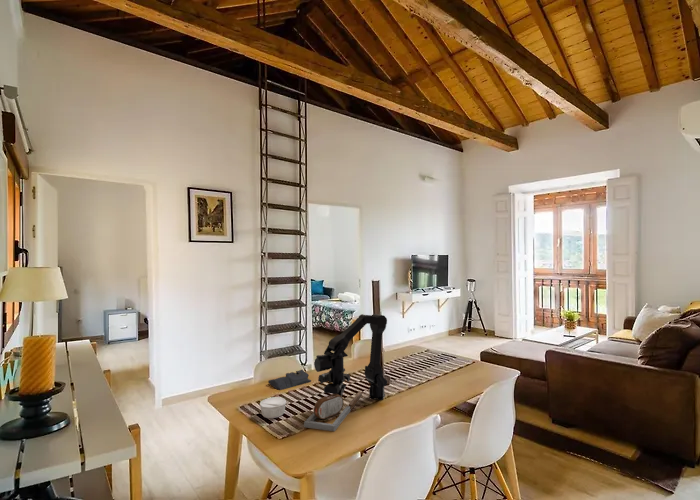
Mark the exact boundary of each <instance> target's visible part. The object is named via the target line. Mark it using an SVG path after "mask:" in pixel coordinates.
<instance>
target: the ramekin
mask: <svg viewBox="0 0 700 500" xmlns="http://www.w3.org/2000/svg"><path fill="white" fill-rule="evenodd" d="M286 405H287V400H286V399H285V398H284V397H280V396H279V397H278V396H277V397H275V396H272V397H268V398H265V399H263V400H261V401H260V403H259V408H260V411H261V415H262V416H263V418H265V419H277V418H279V417H282V416H283V415H284V413H285V410H286Z"/></svg>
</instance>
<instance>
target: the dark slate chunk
mask: <svg viewBox="0 0 700 500" xmlns="http://www.w3.org/2000/svg"><path fill="white" fill-rule="evenodd" d="M311 382H312V380H311V379H309V374H308V373H307V372H306V371H304V370H303V369H300V370H295V372H293V371H292V372H290V373H289V372H287V373H285V376H281V377H278V378H277V377H276V378H274V379H270V380H268V381H267V383H268V385H269V384H270V385H271V386H272V388H275V389H276V390H278V391H282V390H287V389H291V388H294V387H297V386H302V385H305V384H308V383H311Z"/></svg>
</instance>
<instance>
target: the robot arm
mask: <svg viewBox="0 0 700 500" xmlns="http://www.w3.org/2000/svg"><path fill="white" fill-rule="evenodd" d="M367 324H368V325H369V327H370V330H371V342H370V343H371V346H370V356H369V363H368V365H365V366H364V373H363V375H364V377H365V379H366V380H367V383H369V384H370V385H369V387H368V388H369V389H368V390H369V391H368V392H369V393H368V395H369V399H371V400H380V401H382V400H384V398H385V397H386V394H385V387H386V386H387V384H388V380H387V379H385V377H384V376H383V375H384V373H383V369H382V365H381V356H382V355H381V354H382V344H383V343H382V342H383V333H384V332H385V331H386V328H387V324H388V319H387V317H386V315H383V314H378V313H372V314H371V315H370V314H364V313H363V314H360V315H358V318H356V319H354V321H353V322H352V323H351V324H350V325H349V326H348V327H347V328H346V329H345V330H344V331H343V332H341V334H337V335H335V336H334V337H333V338H331V339H329V341H328V345H327V347H326V349H325V350H324V352H323V354H320V355H319V354H318V355H316V357H315V359H314V362H313V365H314V369H315V371H316V372H323V371H325V372H324V373H321V374H319V375H318V378H317V381H318V382H319V383H320V384H324V383H327V382H328V384H326V385H325V386H324V387H323V393H325V394H330V395H332V394H338V395H340V396H342V397H343V393H344V391H345V389H346V387H347V384H344V382H345V381H347V382H350V381H351V375H350V374H349V373H345V371H346V368H344V366H345V365H344V358H346V357H348V354H347V353H346V352H345V351H346V349H347V348H348V346H349V344H350V341H351V340H352V339H353V338H354V337H355V336H356V335H357V334H358V333H359V332H360V331H361V330H362V329H363V328H364V327H365V326H366V325H367ZM326 371H328V372H326Z"/></svg>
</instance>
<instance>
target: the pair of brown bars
mask: <svg viewBox="0 0 700 500" xmlns="http://www.w3.org/2000/svg"><path fill="white" fill-rule="evenodd" d="M362 397H363V392H362V391H358V392H357V393H356V395H355V396H354V397H353V398H352V399H351V401H350V402H349V403H348V406H350V410H352V409H353V408H355V406H356V405H357V403H358V402H359V401H360V400H361V398H362ZM355 404H356V405H355Z"/></svg>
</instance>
